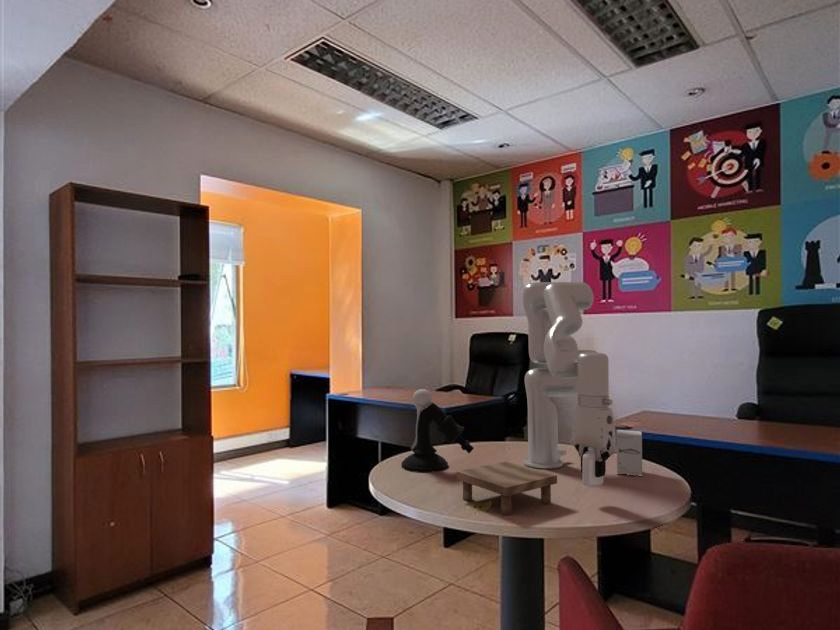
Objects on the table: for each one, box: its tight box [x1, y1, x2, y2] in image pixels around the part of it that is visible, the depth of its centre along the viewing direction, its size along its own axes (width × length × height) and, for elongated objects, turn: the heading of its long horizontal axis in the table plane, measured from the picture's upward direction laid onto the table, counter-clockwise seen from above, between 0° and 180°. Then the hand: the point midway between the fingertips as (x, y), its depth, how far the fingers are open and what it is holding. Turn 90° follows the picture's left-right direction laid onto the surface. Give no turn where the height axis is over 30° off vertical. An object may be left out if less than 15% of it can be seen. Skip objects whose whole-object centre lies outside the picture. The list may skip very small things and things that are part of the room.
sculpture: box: [401, 388, 475, 473], centre depth 168 cm, size 15×24×25 cm, turn 76°
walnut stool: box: [456, 461, 558, 517], centre depth 132 cm, size 18×18×7 cm
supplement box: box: [616, 429, 643, 476], centre depth 159 cm, size 7×7×13 cm
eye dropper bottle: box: [582, 447, 604, 488], centre depth 130 cm, size 4×6×12 cm
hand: (592, 473), depth 130 cm, fingers closed on eye dropper bottle, 3 cm apart
